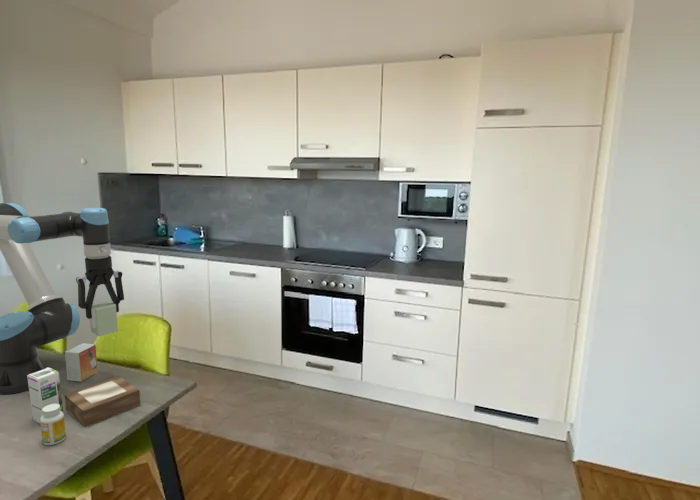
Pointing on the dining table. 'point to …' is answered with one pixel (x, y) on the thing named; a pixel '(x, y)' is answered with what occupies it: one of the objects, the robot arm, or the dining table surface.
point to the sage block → (105, 319)
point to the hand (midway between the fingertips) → (103, 324)
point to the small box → (81, 362)
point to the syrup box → (44, 391)
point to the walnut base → (102, 400)
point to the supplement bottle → (52, 425)
